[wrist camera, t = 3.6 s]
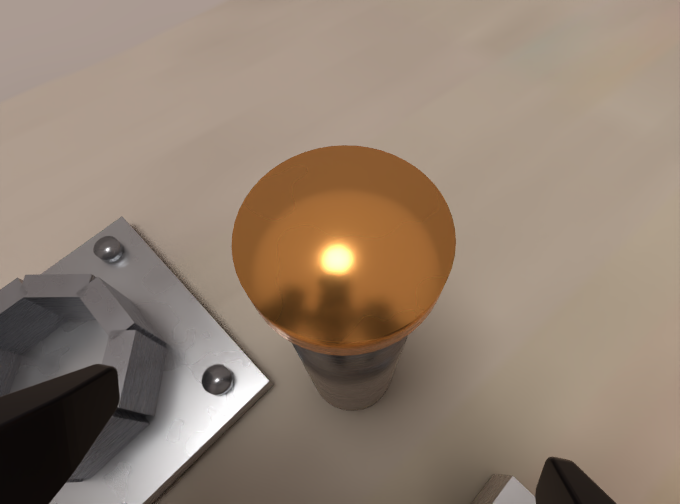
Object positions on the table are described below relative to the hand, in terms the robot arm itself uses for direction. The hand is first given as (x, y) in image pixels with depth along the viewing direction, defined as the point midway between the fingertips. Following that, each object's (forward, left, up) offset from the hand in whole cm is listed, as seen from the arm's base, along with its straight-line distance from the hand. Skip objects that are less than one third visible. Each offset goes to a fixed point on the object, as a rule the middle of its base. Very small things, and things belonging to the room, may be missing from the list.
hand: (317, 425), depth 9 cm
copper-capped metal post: (+2, -3, -10) cm, 11 cm away
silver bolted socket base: (+10, +6, -10) cm, 15 cm away
